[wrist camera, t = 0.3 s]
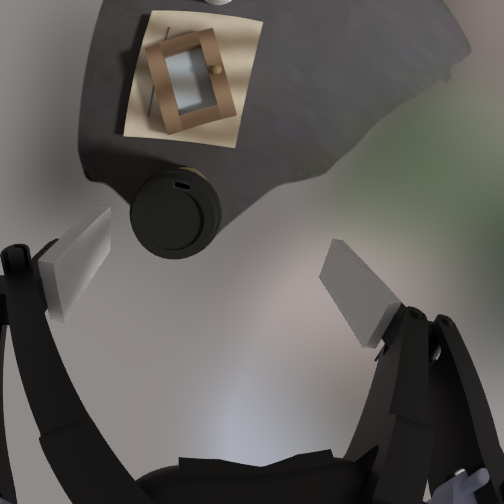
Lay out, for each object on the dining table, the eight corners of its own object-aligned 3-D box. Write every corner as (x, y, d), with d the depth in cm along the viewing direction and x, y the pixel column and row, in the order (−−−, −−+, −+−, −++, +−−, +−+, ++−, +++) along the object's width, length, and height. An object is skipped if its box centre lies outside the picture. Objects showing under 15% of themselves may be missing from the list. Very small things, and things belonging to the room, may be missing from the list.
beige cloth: (154, 15, 26) (152, 10, 24) (260, 26, 29) (263, 21, 27) (127, 135, 34) (123, 136, 32) (233, 147, 37) (234, 148, 36)
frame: (149, 53, 27) (143, 46, 24) (212, 34, 27) (212, 25, 24) (171, 134, 33) (166, 135, 30) (235, 115, 33) (237, 114, 30)
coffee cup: (147, 208, 39) (118, 251, 26) (164, 147, 36) (137, 159, 23) (207, 225, 42) (205, 275, 29) (227, 166, 39) (236, 188, 25)
